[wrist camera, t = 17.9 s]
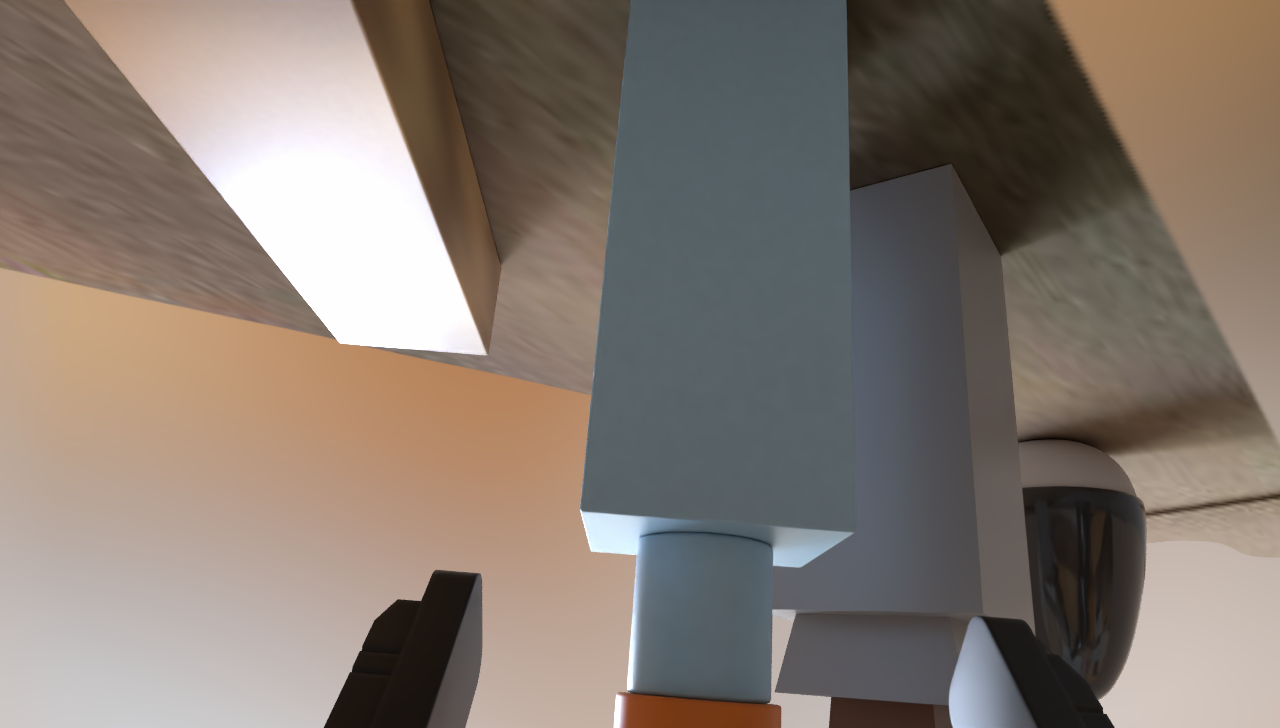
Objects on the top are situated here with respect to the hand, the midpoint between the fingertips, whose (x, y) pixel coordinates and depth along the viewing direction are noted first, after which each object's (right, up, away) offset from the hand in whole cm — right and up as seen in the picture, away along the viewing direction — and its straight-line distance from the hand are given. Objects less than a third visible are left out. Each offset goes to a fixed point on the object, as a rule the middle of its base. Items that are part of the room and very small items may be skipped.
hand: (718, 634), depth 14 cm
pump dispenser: (+24, -1, +40) cm, 47 cm away
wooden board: (-10, +13, +11) cm, 19 cm away
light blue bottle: (0, +4, +7) cm, 8 cm away
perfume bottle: (+8, +9, +17) cm, 21 cm away
